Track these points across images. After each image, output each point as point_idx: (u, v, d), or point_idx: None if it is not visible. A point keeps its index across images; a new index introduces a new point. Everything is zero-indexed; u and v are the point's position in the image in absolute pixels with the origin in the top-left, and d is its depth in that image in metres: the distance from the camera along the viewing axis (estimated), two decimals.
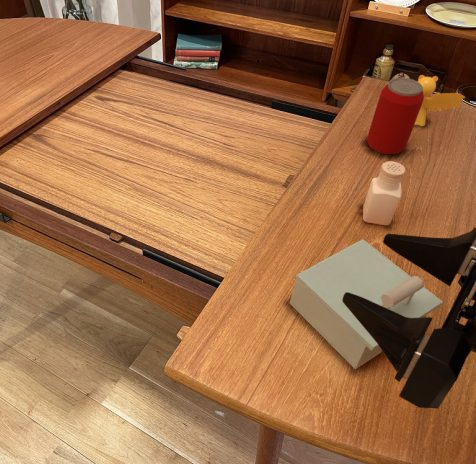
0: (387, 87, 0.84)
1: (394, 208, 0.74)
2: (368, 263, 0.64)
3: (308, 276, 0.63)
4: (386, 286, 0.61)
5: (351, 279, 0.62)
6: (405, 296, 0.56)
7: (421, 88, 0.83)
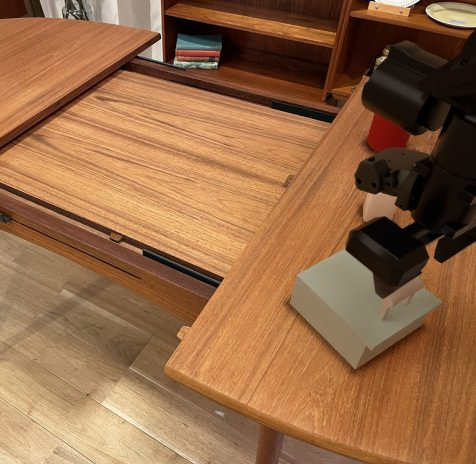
0: None
1: (394, 208, 0.74)
2: None
3: (308, 276, 0.63)
4: None
5: (351, 279, 0.62)
6: (405, 296, 0.56)
7: None
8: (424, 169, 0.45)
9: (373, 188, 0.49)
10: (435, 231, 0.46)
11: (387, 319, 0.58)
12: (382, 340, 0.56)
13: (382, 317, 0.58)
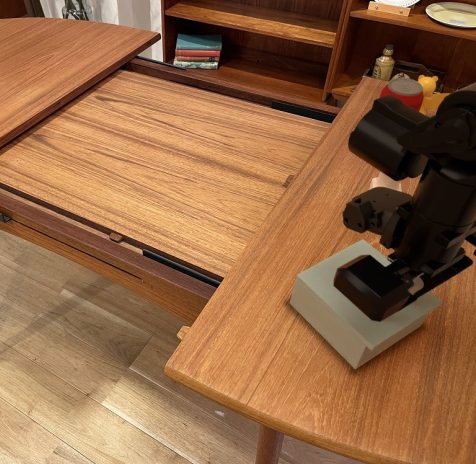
0: (387, 87, 0.84)
1: None
2: None
3: (308, 276, 0.63)
4: None
5: None
6: None
7: (421, 88, 0.83)
8: (405, 213, 0.49)
9: (359, 227, 0.52)
10: (416, 269, 0.50)
11: (387, 319, 0.58)
12: (382, 340, 0.56)
13: None
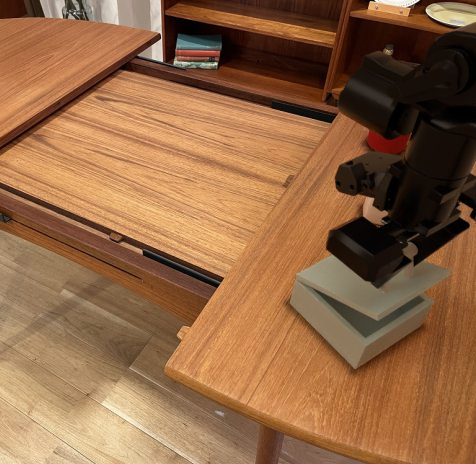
0: None
1: None
2: None
3: (307, 273, 0.63)
4: None
5: None
6: None
7: None
8: (397, 171, 0.48)
9: (351, 190, 0.51)
10: (410, 230, 0.49)
11: (390, 292, 0.56)
12: (386, 308, 0.53)
13: (384, 289, 0.56)
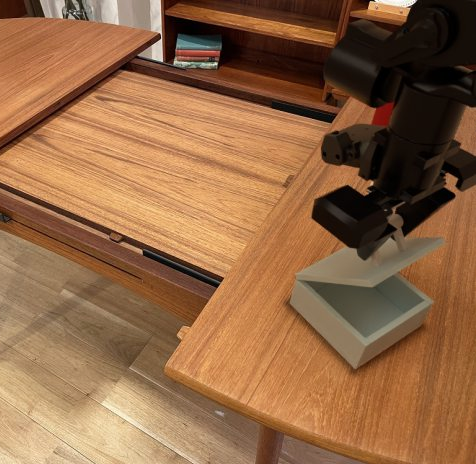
0: None
1: None
2: None
3: (305, 270, 0.63)
4: (384, 249, 0.59)
5: (348, 258, 0.61)
6: None
7: None
8: (382, 138, 0.48)
9: (337, 160, 0.51)
10: (395, 198, 0.49)
11: (384, 263, 0.55)
12: (379, 274, 0.52)
13: (376, 261, 0.55)
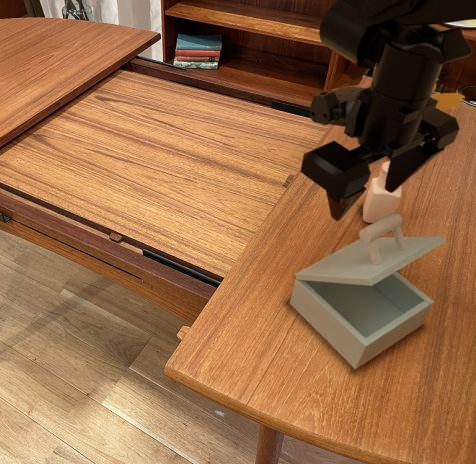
0: None
1: (394, 208, 0.74)
2: (366, 245, 0.63)
3: (305, 270, 0.63)
4: (384, 248, 0.59)
5: (348, 257, 0.61)
6: (382, 227, 0.55)
7: None
8: (366, 97, 0.52)
9: (325, 118, 0.55)
10: (377, 152, 0.53)
11: (383, 262, 0.55)
12: (378, 273, 0.52)
13: (376, 260, 0.55)
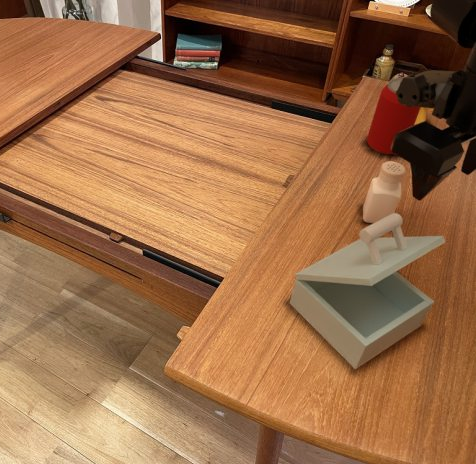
0: (387, 87, 0.84)
1: (394, 208, 0.74)
2: (366, 245, 0.63)
3: (305, 270, 0.63)
4: (384, 248, 0.59)
5: (348, 257, 0.61)
6: (382, 227, 0.55)
7: None
8: (459, 78, 0.54)
9: (414, 100, 0.57)
10: (467, 133, 0.55)
11: (383, 262, 0.55)
12: (378, 273, 0.52)
13: (376, 260, 0.55)
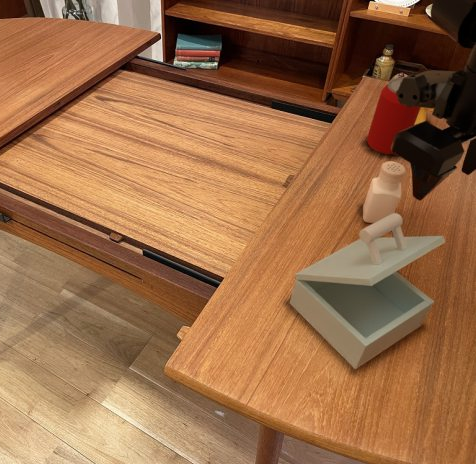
0: (387, 87, 0.84)
1: (394, 208, 0.74)
2: (366, 245, 0.63)
3: (305, 270, 0.63)
4: (384, 248, 0.59)
5: (348, 257, 0.61)
6: (382, 227, 0.55)
7: None
8: (459, 78, 0.54)
9: (414, 100, 0.57)
10: (468, 133, 0.55)
11: (383, 262, 0.55)
12: (378, 273, 0.52)
13: (376, 260, 0.55)
